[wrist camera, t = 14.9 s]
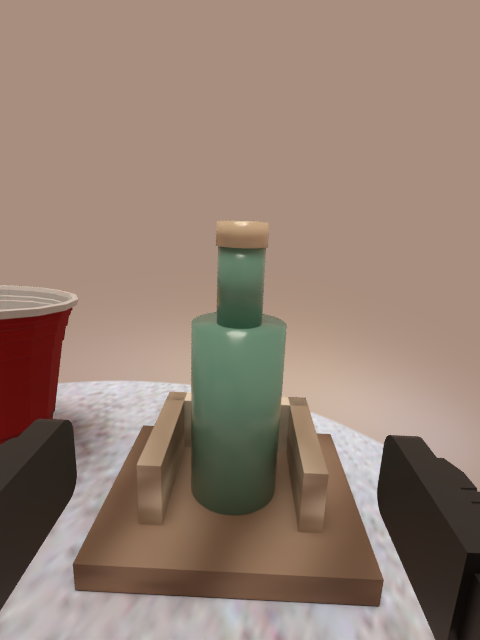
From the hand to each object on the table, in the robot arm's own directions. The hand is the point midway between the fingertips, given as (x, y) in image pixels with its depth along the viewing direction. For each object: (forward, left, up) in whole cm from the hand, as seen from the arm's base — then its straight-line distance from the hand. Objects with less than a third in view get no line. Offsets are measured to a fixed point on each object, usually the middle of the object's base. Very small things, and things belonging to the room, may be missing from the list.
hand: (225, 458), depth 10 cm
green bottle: (0, +11, -9) cm, 15 cm away
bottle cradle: (0, +11, -11) cm, 16 cm away
